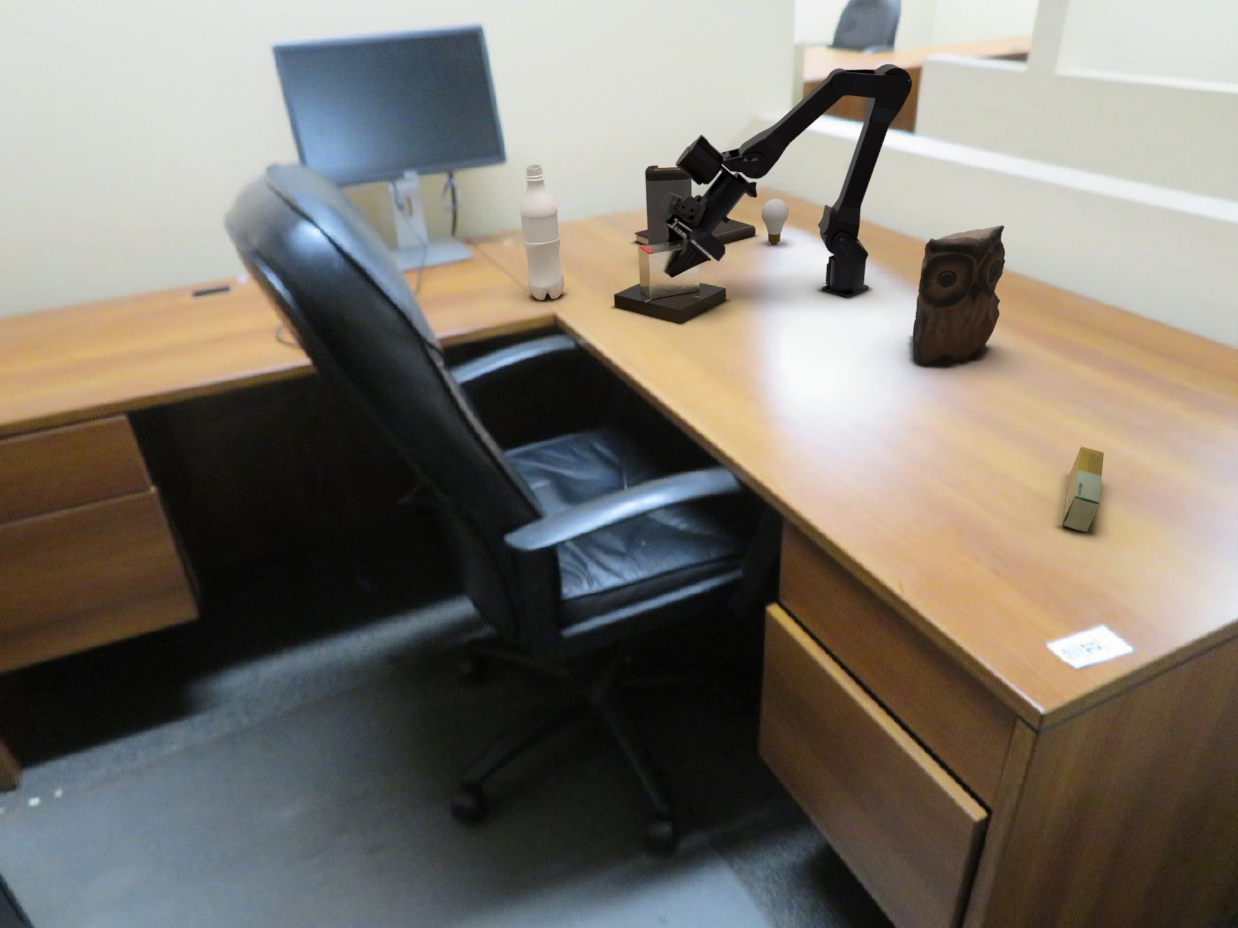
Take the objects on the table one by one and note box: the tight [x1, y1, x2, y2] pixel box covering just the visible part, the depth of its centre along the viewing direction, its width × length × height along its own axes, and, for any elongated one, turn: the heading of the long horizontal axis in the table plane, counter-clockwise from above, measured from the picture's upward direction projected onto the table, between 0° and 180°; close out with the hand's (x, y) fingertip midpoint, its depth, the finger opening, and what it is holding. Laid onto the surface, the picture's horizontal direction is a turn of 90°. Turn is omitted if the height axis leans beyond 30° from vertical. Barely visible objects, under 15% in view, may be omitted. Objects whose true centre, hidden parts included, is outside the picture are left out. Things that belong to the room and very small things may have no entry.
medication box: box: [1061, 446, 1105, 533], centre depth 97 cm, size 12×3×4 cm, turn 152°
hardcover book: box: [634, 218, 757, 246], centre depth 198 cm, size 16×23×2 cm
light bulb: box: [760, 198, 790, 246], centre depth 188 cm, size 6×6×10 cm
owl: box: [912, 224, 1006, 368], centre depth 130 cm, size 13×13×20 cm
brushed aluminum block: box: [637, 240, 701, 299], centre depth 159 cm, size 10×5×9 cm, turn 109°
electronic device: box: [644, 164, 693, 245], centre depth 179 cm, size 9×6×20 cm, turn 84°
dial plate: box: [613, 282, 727, 325], centre depth 162 cm, size 16×14×3 cm
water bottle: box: [519, 164, 565, 301], centre depth 164 cm, size 7×7×25 cm
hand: (663, 271), depth 158 cm, fingers closed on brushed aluminum block, 6 cm apart
